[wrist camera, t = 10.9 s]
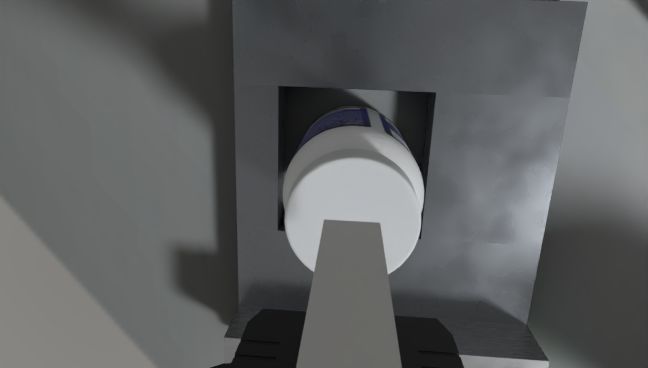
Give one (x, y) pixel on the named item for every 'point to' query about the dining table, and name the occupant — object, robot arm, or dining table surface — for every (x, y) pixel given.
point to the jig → (438, 155)
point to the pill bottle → (353, 183)
